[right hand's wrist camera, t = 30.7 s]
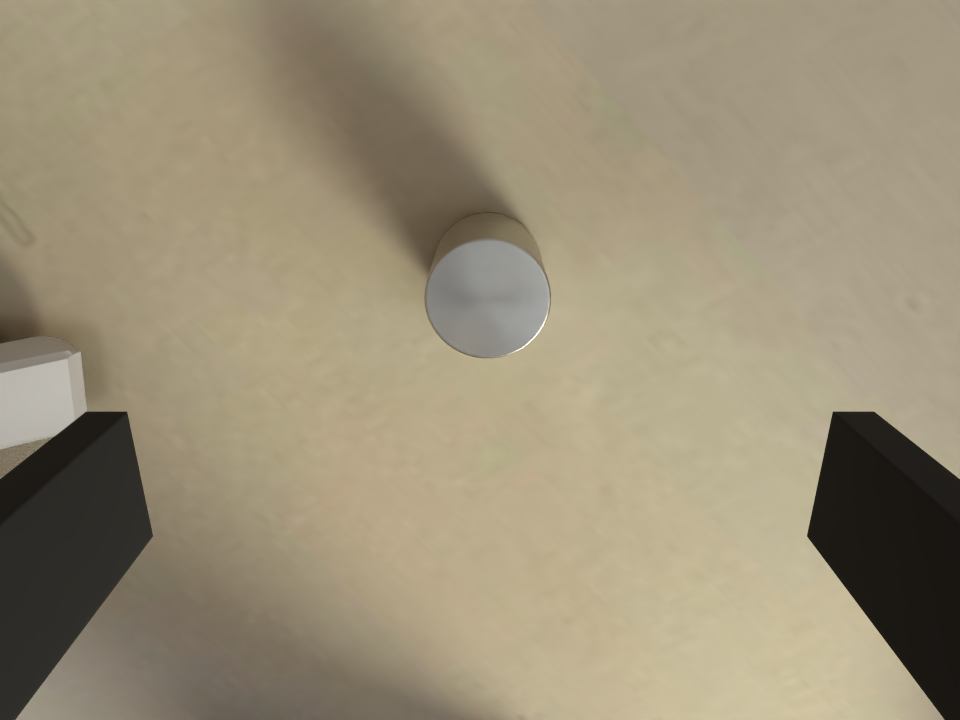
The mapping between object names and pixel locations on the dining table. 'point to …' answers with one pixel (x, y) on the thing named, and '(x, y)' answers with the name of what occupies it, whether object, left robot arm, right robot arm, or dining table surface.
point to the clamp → (39, 389)
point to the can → (487, 287)
